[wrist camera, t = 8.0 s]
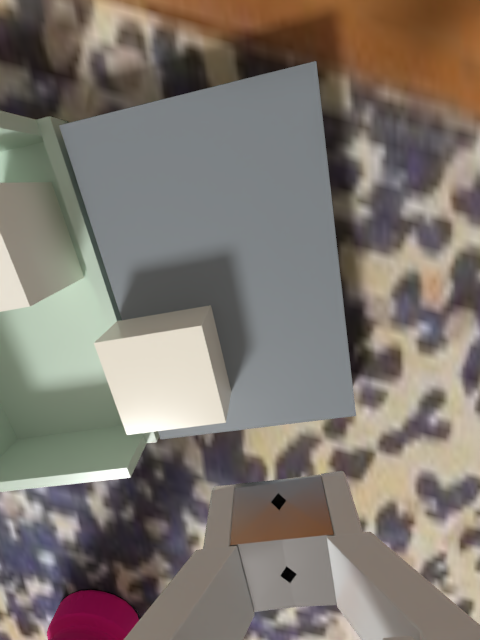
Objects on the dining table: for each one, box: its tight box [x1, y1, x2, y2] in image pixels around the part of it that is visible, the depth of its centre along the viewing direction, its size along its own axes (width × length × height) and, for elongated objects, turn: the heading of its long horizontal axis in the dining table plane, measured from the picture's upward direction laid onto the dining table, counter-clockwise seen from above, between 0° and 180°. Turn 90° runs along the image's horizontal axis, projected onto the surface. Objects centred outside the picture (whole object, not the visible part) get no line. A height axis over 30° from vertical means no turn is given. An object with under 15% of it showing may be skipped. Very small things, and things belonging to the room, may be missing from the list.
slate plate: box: [59, 61, 356, 439], centre depth 17 cm, size 10×15×2 cm, turn 11°
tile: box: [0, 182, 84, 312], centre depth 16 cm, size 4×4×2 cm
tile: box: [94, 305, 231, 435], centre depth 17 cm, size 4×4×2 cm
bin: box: [0, 111, 159, 492], centre depth 17 cm, size 10×16×5 cm, turn 11°
